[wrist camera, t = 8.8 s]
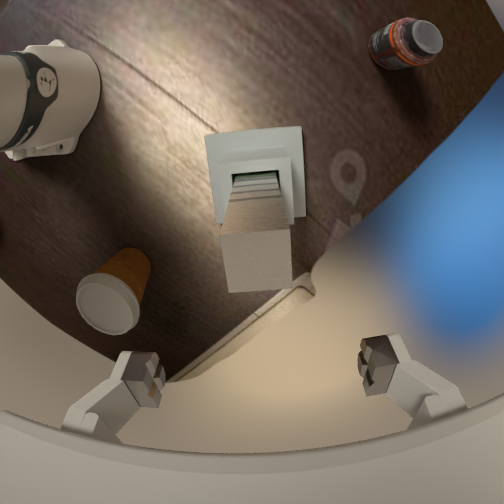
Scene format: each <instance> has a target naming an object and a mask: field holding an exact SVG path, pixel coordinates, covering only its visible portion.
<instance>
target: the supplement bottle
mask: <svg viewBox="0 0 504 504" xmlns="http://www.w3.org/2000/svg"><path fill="white" fill-rule="evenodd" d="M442 46H443V39H442V36H441V34H440V32H439V30H438V29H437V28H436V27H435V26H434V25H433V24H432V23H430V22H428V21H425V20H417V19H414V18H403V19H400V20H398V21H396V22H394V23H392V24H390V25H388V26H386V27H384V28H383V29H381V30H379V31H377V32H375V33H374V34H373V35H372V36H371V37H370V39H369V43H368V49H369V53H370V55H371V57H372V58H373V60H374V61H375V62H376V63H377V64H378V65H380V66H381V67H383V68H385V69H388V70H398V69H403V68H408V67H413V66H419V65H424V64H427V63H429V62H431V61H432V60H433V59H434V58H435V56H436V54H437V53H438V52H440V51H441V49H442Z"/></svg>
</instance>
